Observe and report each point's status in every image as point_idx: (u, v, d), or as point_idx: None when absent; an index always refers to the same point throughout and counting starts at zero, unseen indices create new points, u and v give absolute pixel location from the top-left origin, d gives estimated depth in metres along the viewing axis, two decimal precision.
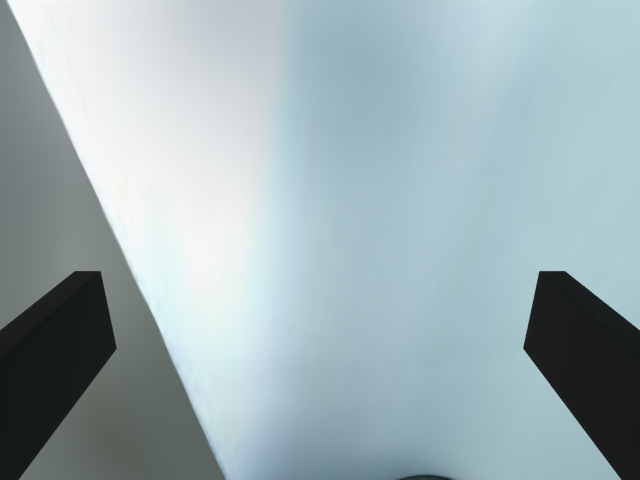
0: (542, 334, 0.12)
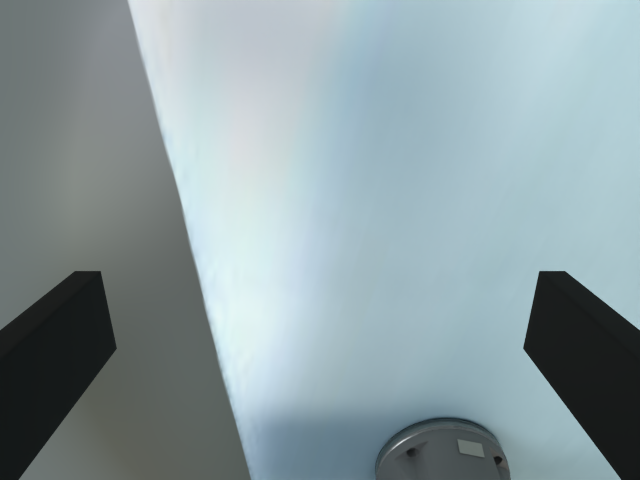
0: (542, 334, 0.12)
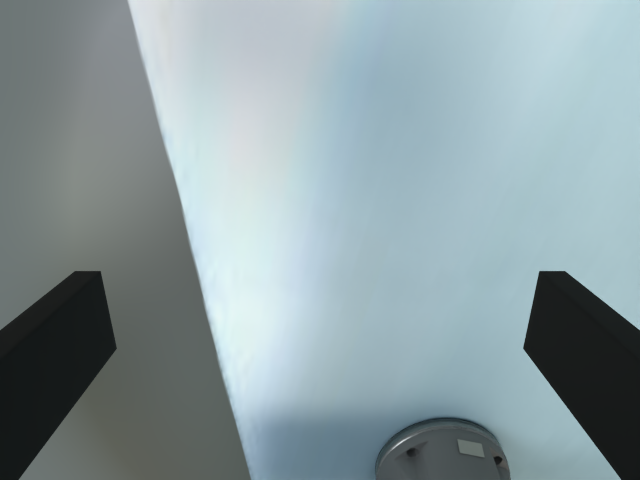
0: (542, 334, 0.12)
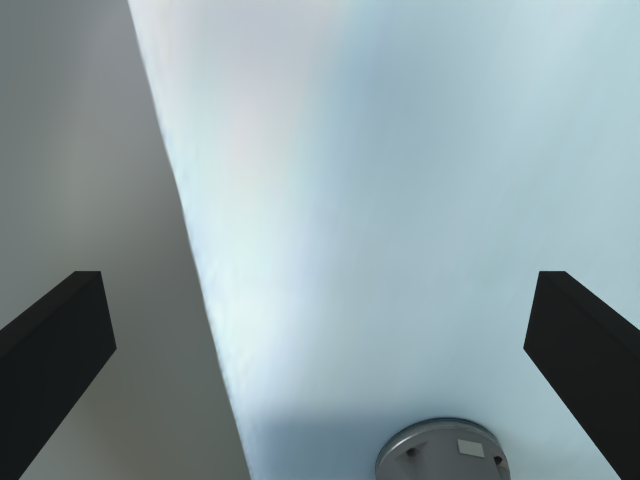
0: (542, 334, 0.12)
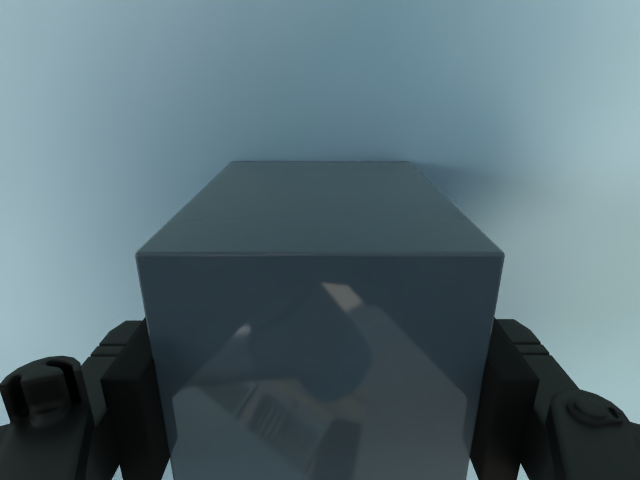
0: None
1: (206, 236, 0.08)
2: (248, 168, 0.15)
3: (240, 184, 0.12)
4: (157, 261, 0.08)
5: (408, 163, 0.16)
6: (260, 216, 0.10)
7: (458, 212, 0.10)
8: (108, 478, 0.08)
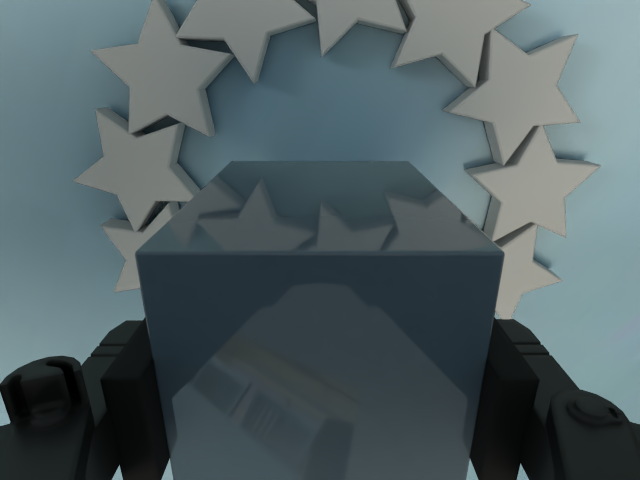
0: None
1: (206, 235, 0.08)
2: (248, 167, 0.15)
3: (239, 184, 0.12)
4: (157, 260, 0.08)
5: (408, 163, 0.16)
6: (260, 215, 0.10)
7: (458, 211, 0.10)
8: (108, 478, 0.08)
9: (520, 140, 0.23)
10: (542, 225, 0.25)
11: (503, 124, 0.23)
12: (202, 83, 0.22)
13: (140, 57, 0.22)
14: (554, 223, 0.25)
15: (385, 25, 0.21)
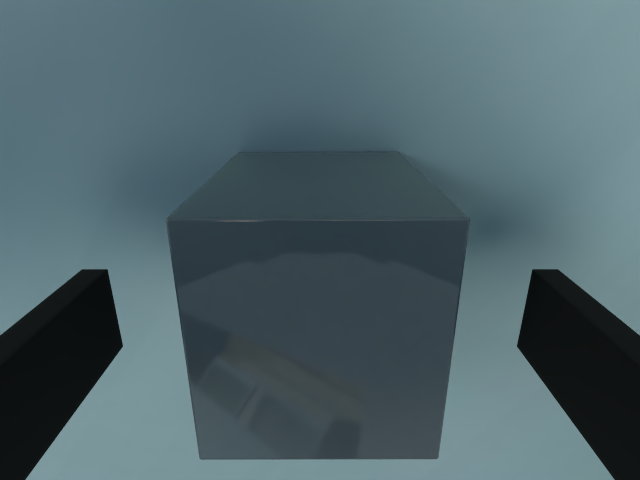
0: (535, 332, 0.12)
1: (223, 207, 0.10)
2: (254, 157, 0.16)
3: (248, 170, 0.14)
4: (184, 225, 0.09)
5: (398, 153, 0.17)
6: (267, 193, 0.11)
7: (436, 190, 0.12)
8: None
9: None
10: None
11: None
12: None
13: None
14: None
15: None
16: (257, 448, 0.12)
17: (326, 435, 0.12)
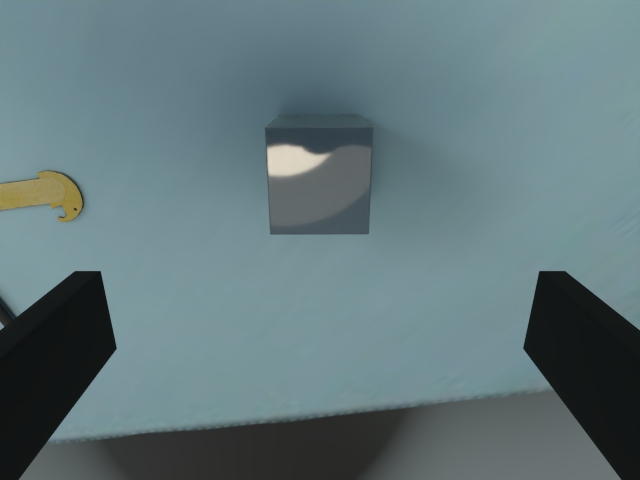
0: (542, 334, 0.12)
1: (284, 125, 0.27)
2: (287, 116, 0.33)
3: (287, 119, 0.31)
4: (271, 129, 0.26)
5: (359, 115, 0.34)
6: (298, 123, 0.28)
7: (367, 122, 0.29)
8: None
9: None
10: None
11: None
12: None
13: None
14: None
15: None
16: (294, 228, 0.29)
17: (322, 221, 0.29)
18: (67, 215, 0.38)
